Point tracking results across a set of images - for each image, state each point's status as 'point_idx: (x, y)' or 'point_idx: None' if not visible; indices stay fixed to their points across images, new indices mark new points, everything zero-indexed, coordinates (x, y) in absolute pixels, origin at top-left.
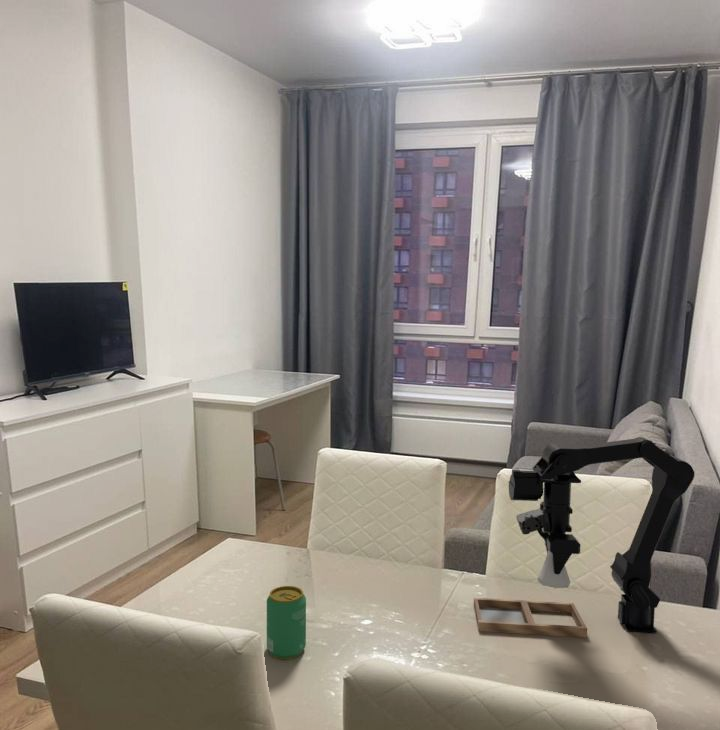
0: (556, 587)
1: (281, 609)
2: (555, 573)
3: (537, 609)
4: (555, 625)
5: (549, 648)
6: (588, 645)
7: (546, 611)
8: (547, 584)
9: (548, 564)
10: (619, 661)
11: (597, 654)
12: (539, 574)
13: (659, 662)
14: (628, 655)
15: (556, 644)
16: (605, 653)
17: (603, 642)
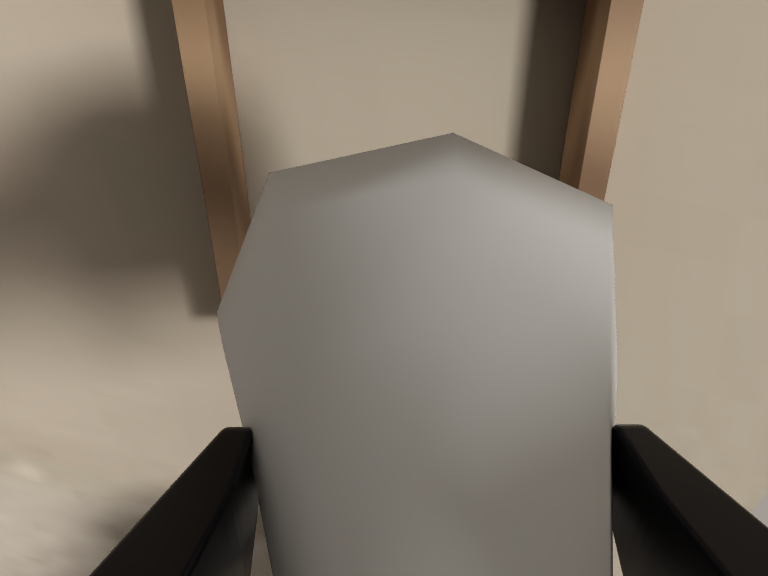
0: (219, 327)
1: None
2: (225, 439)
3: (577, 74)
4: (218, 155)
5: (16, 49)
6: (151, 298)
7: (565, 140)
8: (248, 243)
9: (313, 448)
10: (37, 396)
11: (65, 319)
12: (446, 197)
13: (101, 526)
14: (115, 442)
15: (93, 112)
16: (93, 357)
17: (210, 375)
